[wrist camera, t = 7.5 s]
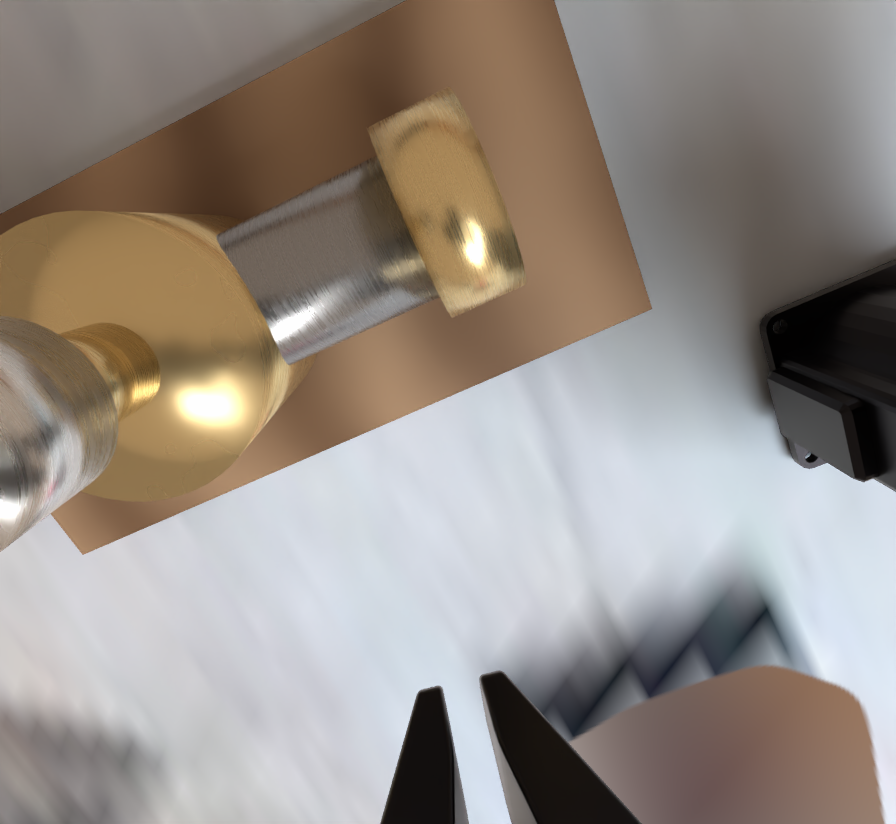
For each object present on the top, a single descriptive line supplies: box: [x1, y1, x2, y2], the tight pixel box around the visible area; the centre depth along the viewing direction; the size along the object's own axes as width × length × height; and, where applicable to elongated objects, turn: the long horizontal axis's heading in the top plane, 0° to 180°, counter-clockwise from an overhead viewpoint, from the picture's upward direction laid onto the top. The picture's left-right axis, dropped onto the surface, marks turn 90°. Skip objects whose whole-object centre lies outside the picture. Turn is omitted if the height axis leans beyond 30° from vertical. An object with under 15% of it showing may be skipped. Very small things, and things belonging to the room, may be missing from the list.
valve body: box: [0, 87, 526, 502], centre depth 14 cm, size 18×6×9 cm, turn 114°
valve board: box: [0, 0, 652, 554], centre depth 18 cm, size 22×11×2 cm, turn 114°
